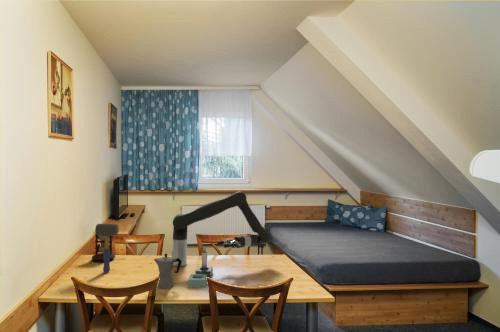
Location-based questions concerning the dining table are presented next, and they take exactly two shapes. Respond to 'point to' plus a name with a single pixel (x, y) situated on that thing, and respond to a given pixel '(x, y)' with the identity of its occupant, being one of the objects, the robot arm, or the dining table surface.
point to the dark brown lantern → (102, 248)
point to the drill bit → (204, 259)
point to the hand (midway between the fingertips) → (220, 244)
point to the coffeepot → (166, 271)
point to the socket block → (204, 271)
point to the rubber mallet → (106, 240)
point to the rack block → (197, 280)
